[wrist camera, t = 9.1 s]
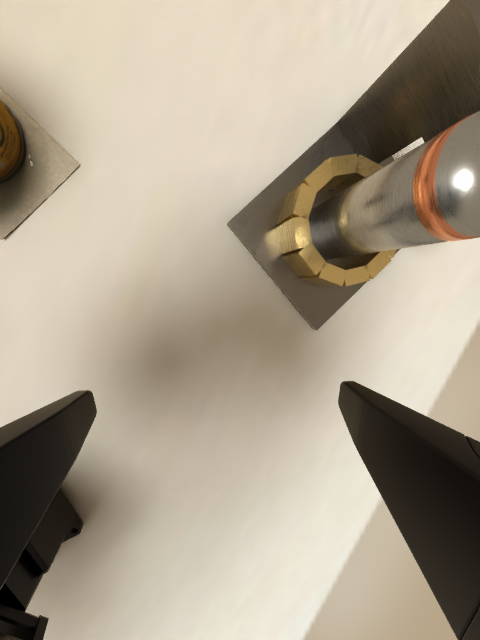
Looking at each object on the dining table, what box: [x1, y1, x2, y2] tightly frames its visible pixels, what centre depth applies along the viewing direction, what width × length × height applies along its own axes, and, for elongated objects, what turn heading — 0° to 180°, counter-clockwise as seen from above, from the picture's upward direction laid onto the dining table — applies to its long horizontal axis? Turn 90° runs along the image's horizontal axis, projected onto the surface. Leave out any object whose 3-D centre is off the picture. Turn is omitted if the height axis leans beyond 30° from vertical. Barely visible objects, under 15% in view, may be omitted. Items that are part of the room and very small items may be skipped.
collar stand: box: [227, 0, 480, 330], centre depth 16 cm, size 15×12×10 cm
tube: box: [309, 111, 480, 260], centre depth 15 cm, size 5×5×12 cm
